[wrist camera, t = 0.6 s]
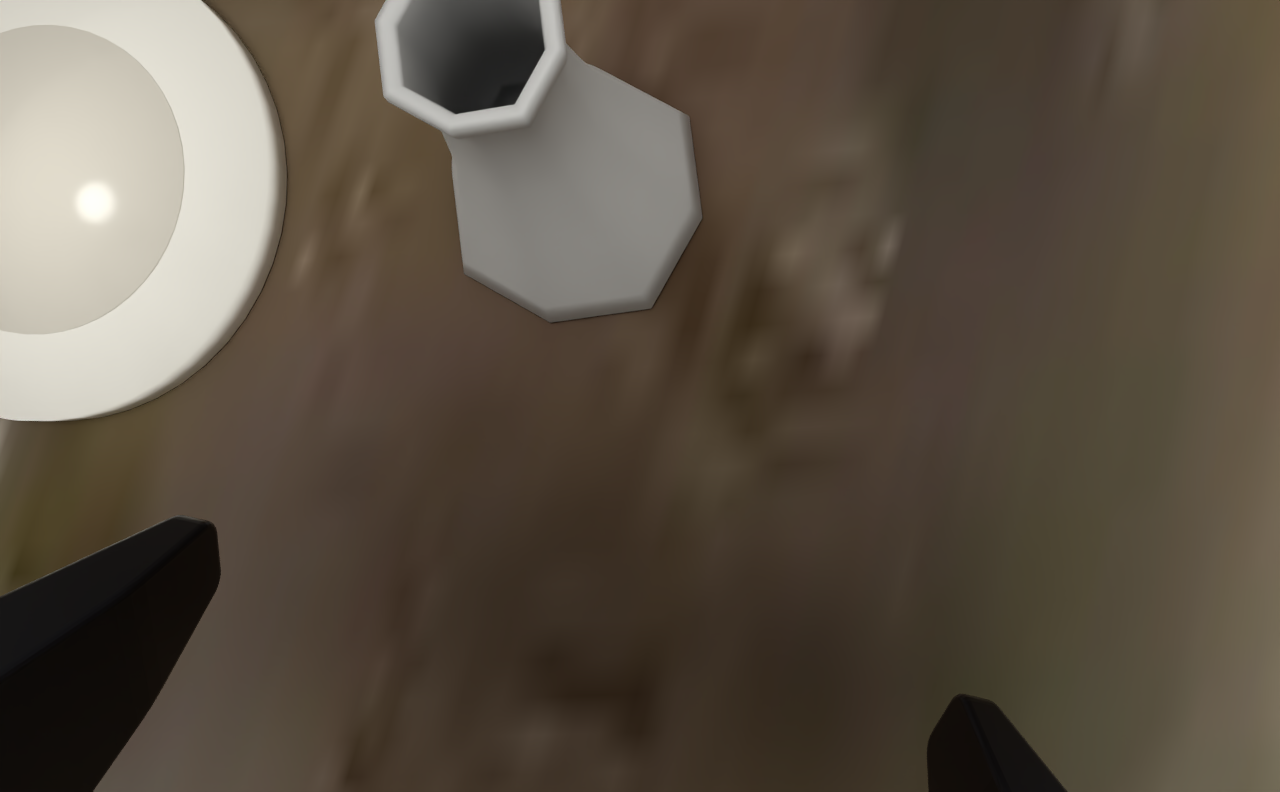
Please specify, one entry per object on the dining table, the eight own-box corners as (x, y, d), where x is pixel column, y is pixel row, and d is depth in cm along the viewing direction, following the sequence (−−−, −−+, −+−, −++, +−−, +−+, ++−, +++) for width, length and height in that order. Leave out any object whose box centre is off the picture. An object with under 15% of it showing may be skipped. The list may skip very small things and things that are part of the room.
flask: (479, 54, 23) (300, -214, 13) (727, 93, 23) (733, -159, 13) (430, 300, 23) (215, 216, 13) (677, 347, 23) (643, 295, 13)
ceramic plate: (75, 517, 24) (46, 522, 23) (-225, 212, 25) (-267, 203, 24) (382, 164, 23) (365, 151, 22) (57, -133, 25) (28, -157, 24)
